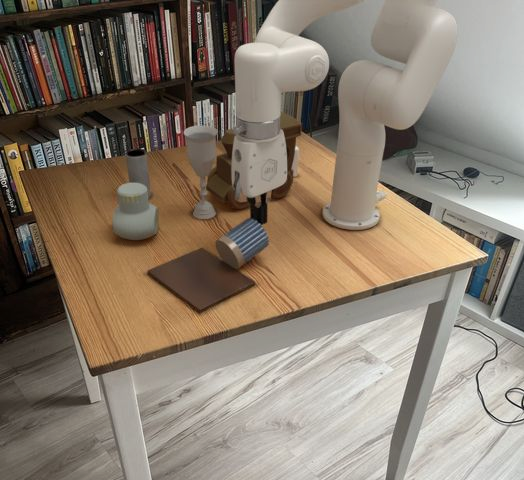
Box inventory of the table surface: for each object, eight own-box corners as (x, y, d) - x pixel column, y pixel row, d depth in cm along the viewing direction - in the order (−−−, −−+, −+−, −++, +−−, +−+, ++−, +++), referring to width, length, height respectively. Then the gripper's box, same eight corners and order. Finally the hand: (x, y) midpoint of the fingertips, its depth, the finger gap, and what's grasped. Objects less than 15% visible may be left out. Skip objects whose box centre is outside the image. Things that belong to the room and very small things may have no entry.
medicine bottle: (262, 168, 144) (263, 120, 136) (288, 165, 145) (291, 117, 138) (270, 179, 139) (272, 130, 131) (297, 176, 140) (301, 128, 132)
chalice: (214, 223, 122) (212, 140, 110) (184, 219, 123) (178, 136, 111) (223, 207, 127) (221, 127, 115) (194, 204, 128) (189, 123, 116)
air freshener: (122, 220, 122) (115, 176, 115) (160, 220, 122) (156, 176, 115) (113, 246, 113) (105, 200, 107) (154, 247, 114) (149, 201, 107)
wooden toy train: (272, 177, 140) (275, 107, 129) (300, 194, 133) (305, 123, 122) (202, 195, 131) (198, 123, 120) (227, 215, 124) (226, 140, 113)
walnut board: (202, 250, 113) (202, 247, 113) (255, 285, 104) (255, 281, 104) (147, 274, 106) (147, 270, 106) (199, 313, 98) (199, 309, 97)
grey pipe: (153, 198, 129) (148, 155, 123) (133, 201, 128) (127, 157, 121) (148, 190, 133) (143, 147, 126) (129, 193, 131) (123, 149, 124)
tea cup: (247, 235, 113) (244, 211, 107) (269, 253, 110) (268, 228, 105) (217, 257, 110) (213, 233, 105) (240, 275, 107) (236, 252, 102)
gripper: (239, 144, 90) (242, 243, 102) (304, 120, 98) (299, 215, 110) (210, 130, 94) (216, 227, 107) (275, 109, 102) (273, 202, 114)
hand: (258, 221), depth 108 cm, fingers closed
